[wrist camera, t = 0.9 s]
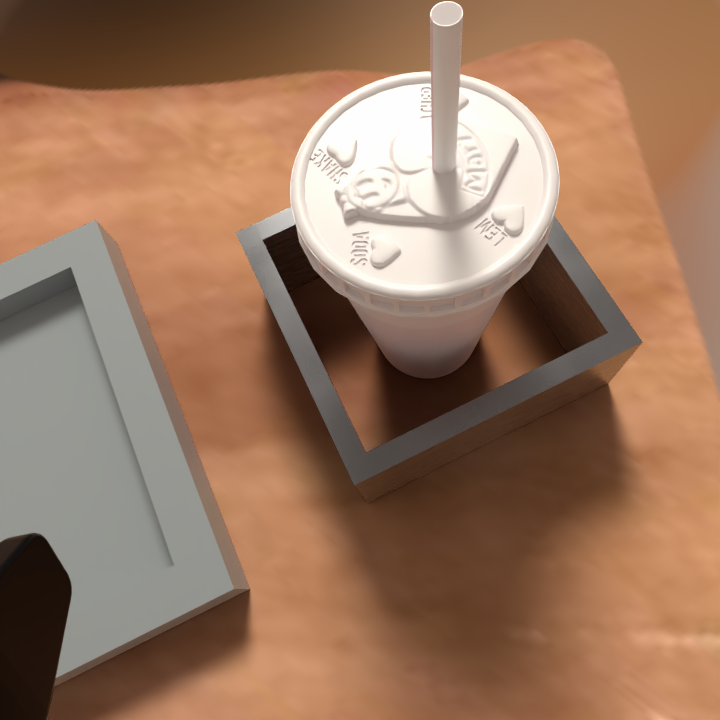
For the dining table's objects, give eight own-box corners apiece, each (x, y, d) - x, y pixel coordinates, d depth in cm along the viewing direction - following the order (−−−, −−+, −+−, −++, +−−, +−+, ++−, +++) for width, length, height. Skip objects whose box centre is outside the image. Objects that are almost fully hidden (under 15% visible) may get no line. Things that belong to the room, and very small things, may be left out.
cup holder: (608, 382, 23) (642, 342, 19) (367, 502, 22) (354, 485, 19) (477, 183, 26) (484, 115, 22) (265, 285, 26) (235, 232, 22)
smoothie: (544, 378, 23) (684, 100, 10) (374, 440, 23) (291, 242, 10) (474, 232, 25) (515, -153, 12) (320, 287, 25) (194, -39, 12)
